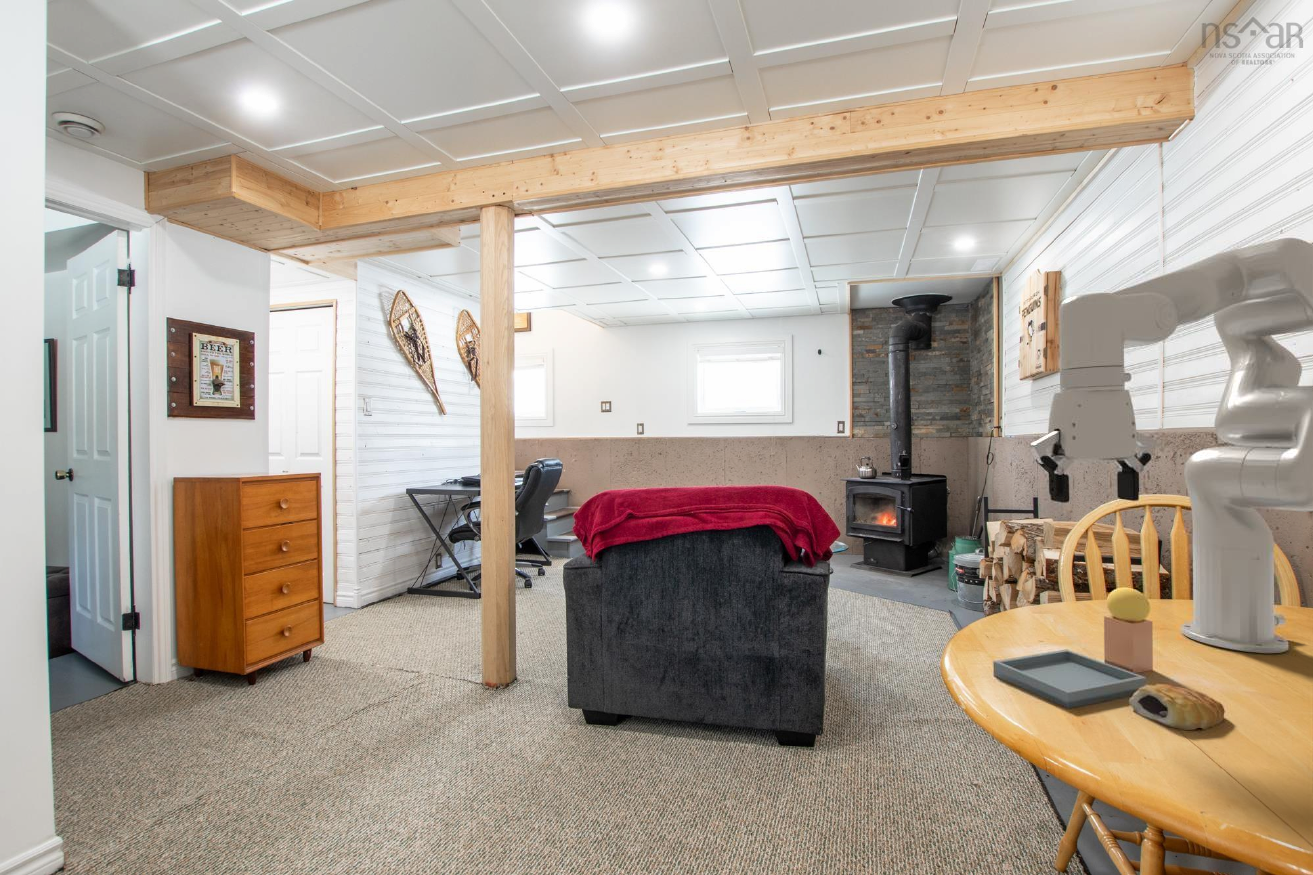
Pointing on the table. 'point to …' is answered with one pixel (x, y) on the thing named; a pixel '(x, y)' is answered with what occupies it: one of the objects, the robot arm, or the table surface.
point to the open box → (1128, 644)
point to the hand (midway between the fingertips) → (1093, 500)
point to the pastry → (1177, 707)
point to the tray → (1069, 678)
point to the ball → (1128, 605)
